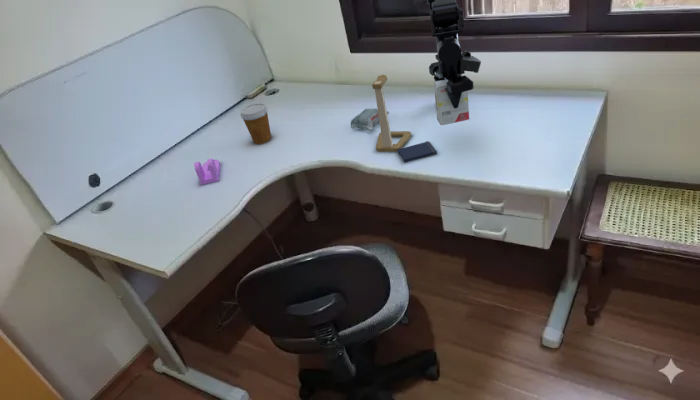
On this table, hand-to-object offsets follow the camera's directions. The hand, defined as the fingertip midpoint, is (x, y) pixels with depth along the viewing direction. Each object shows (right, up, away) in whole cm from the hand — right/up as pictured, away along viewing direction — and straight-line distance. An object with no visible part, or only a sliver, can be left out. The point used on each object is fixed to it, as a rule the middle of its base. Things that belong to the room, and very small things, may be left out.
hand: (452, 104), depth 148 cm
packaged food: (-22, -2, +28) cm, 36 cm away
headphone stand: (-16, -10, +15) cm, 24 cm away
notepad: (-9, -13, +7) cm, 17 cm away
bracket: (-74, -19, +21) cm, 79 cm away
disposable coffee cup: (-60, -6, +34) cm, 69 cm away
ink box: (+1, -4, +3) cm, 5 cm away
